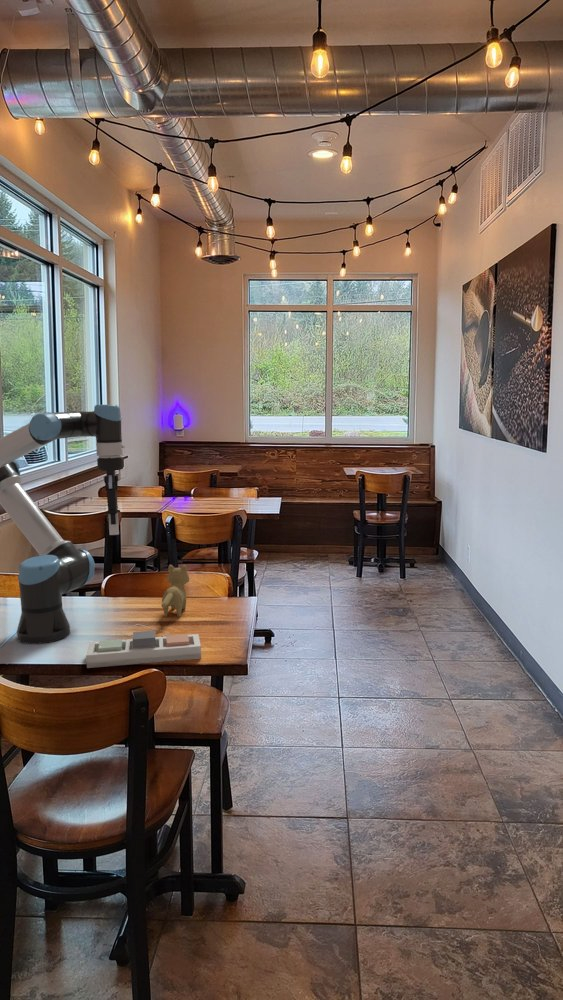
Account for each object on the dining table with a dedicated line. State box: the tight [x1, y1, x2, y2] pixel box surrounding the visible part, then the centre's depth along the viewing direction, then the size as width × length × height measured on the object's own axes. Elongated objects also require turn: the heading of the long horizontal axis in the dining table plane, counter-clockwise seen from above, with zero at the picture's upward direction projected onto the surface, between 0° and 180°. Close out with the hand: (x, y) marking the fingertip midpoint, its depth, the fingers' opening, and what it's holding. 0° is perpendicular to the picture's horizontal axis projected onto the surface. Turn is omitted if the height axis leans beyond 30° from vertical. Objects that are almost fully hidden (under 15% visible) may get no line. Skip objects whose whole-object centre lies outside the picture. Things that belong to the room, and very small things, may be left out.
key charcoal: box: [132, 629, 156, 648], centre depth 190 cm, size 6×6×2 cm
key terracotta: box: [165, 633, 189, 647], centre depth 192 cm, size 6×6×2 cm
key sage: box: [98, 638, 123, 652], centre depth 189 cm, size 6×6×2 cm
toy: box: [161, 564, 190, 618], centre depth 226 cm, size 7×24×15 cm, turn 174°
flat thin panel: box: [115, 623, 169, 638], centre depth 211 cm, size 9×1×15 cm
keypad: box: [85, 633, 202, 669], centre depth 191 cm, size 30×10×4 cm, turn 101°
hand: (114, 534), depth 211 cm, fingers closed
